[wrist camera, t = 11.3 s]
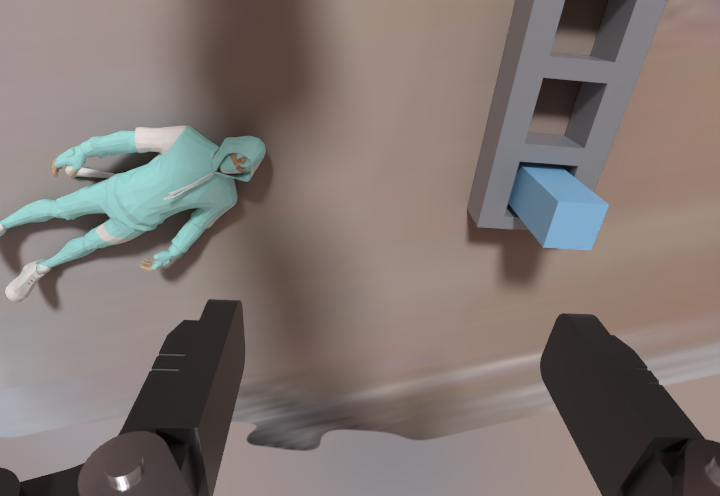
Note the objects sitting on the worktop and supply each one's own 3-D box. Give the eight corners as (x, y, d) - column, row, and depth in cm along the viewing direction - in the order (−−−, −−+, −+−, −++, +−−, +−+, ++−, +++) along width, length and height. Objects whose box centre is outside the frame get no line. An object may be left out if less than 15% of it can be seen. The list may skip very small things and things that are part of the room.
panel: (526, -46, 34) (546, -50, 31) (647, -32, 35) (680, -35, 32) (467, 209, 45) (477, 227, 42) (560, 215, 46) (577, 233, 43)
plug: (510, 155, 43) (558, 201, 33) (550, 157, 43) (609, 204, 33) (500, 193, 45) (543, 247, 35) (538, 195, 45) (590, 250, 35)
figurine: (-86, 226, 38) (210, 88, 32) (-36, 190, 43) (228, 65, 37) (37, 323, 46) (295, 226, 39) (67, 282, 50) (300, 191, 44)
